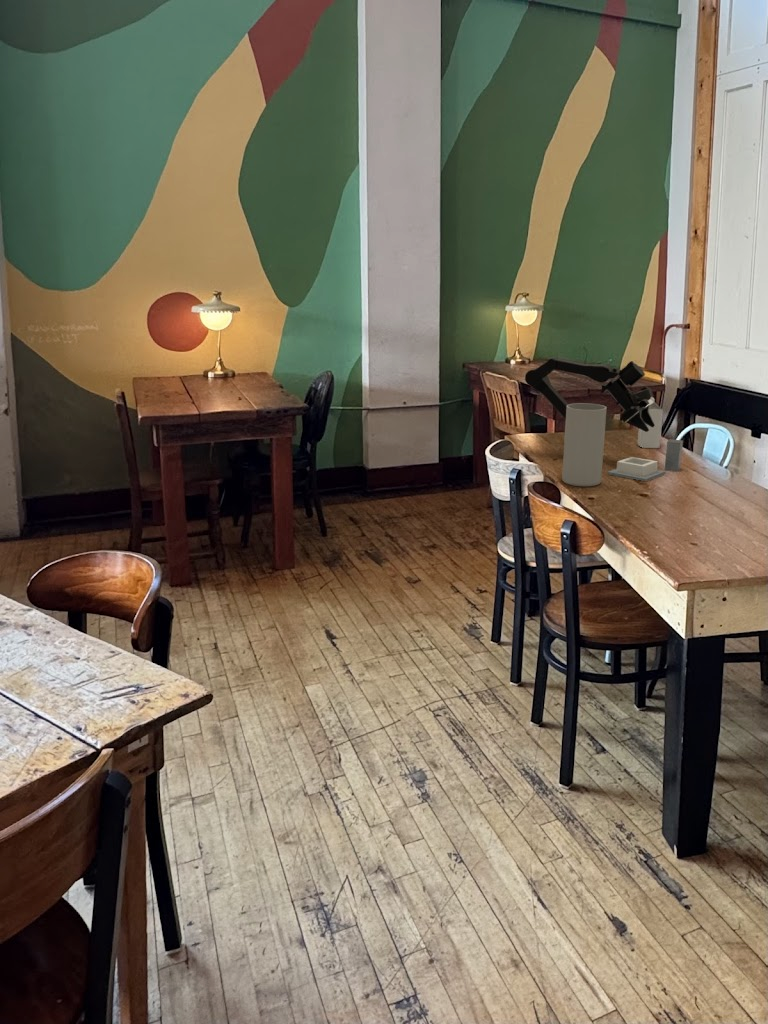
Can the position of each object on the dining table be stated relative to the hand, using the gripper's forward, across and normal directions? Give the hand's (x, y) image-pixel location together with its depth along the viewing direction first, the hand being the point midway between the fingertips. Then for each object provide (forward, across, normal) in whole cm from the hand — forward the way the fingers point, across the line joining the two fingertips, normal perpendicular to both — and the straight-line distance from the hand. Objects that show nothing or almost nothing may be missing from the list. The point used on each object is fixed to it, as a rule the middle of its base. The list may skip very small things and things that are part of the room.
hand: (650, 428), depth 307 cm
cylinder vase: (0, -33, +20) cm, 38 cm away
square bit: (+16, 0, +3) cm, 16 cm away
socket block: (+9, -14, +10) cm, 19 cm away
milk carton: (+5, +32, +14) cm, 36 cm away
